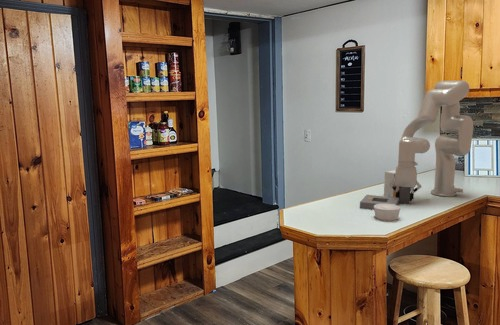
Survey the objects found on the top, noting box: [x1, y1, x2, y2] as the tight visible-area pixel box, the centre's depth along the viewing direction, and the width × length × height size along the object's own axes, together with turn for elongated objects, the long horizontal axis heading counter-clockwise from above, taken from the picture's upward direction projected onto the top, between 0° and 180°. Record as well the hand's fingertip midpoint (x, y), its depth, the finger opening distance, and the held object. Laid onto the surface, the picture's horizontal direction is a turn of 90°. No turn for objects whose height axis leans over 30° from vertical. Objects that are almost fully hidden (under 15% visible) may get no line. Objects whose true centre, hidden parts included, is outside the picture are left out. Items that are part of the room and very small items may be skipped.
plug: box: [399, 187, 411, 205], centre depth 217 cm, size 5×5×9 cm
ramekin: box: [373, 203, 401, 222], centre depth 193 cm, size 11×11×5 cm
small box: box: [383, 169, 397, 197], centre depth 232 cm, size 8×6×13 cm
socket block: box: [359, 194, 400, 211], centre depth 212 cm, size 16×16×3 cm
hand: (404, 199), depth 217 cm, fingers closed on plug, 5 cm apart
